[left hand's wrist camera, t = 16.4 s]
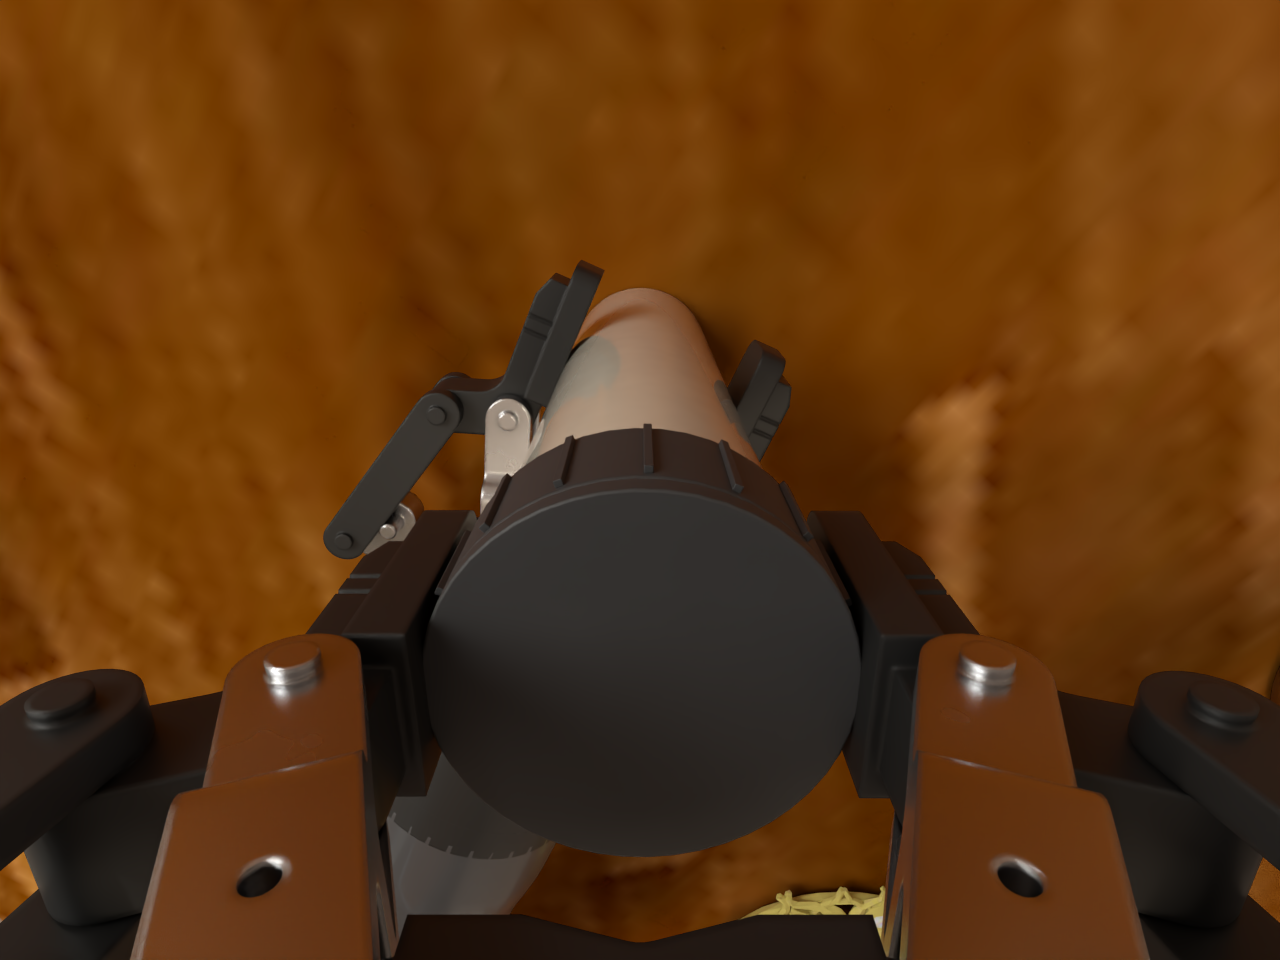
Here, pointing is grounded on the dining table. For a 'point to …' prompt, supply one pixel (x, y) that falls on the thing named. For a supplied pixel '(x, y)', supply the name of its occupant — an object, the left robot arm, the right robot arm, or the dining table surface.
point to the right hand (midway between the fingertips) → (680, 311)
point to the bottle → (640, 377)
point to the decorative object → (827, 905)
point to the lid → (641, 647)
